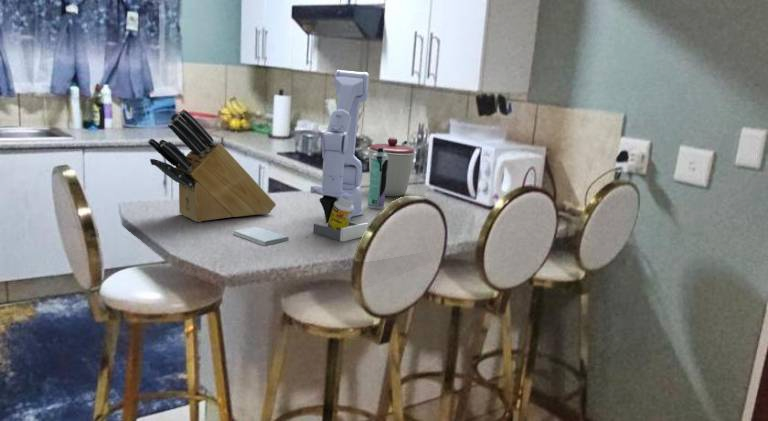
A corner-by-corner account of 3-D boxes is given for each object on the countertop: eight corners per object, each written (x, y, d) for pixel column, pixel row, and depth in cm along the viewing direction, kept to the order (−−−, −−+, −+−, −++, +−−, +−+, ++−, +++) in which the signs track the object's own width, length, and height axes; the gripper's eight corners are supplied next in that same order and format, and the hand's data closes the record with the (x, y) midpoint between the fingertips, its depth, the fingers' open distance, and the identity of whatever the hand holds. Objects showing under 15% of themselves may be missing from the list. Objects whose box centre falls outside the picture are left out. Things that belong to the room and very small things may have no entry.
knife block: (145, 217, 174) (145, 105, 167) (256, 206, 197) (260, 107, 190) (162, 227, 166) (162, 110, 159) (276, 214, 189) (280, 111, 182)
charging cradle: (338, 226, 182) (339, 214, 181) (367, 235, 176) (368, 222, 175) (313, 232, 174) (313, 219, 173) (342, 241, 167) (343, 228, 166)
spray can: (386, 208, 210) (391, 149, 205) (371, 208, 207) (375, 148, 203) (380, 204, 214) (385, 146, 210) (365, 204, 212) (370, 146, 208)
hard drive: (288, 236, 164) (257, 225, 172) (265, 241, 158) (233, 230, 165) (288, 242, 165) (257, 231, 172) (264, 247, 158) (233, 236, 166)
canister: (386, 200, 221) (391, 141, 216) (353, 190, 234) (358, 134, 229) (422, 196, 233) (427, 140, 229) (389, 187, 246) (394, 133, 241)
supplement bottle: (322, 227, 174) (332, 195, 170) (334, 223, 179) (344, 191, 175) (338, 236, 172) (348, 204, 168) (349, 232, 177) (360, 200, 173)
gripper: (303, 172, 175) (301, 219, 178) (342, 181, 166) (339, 230, 169) (321, 170, 180) (318, 215, 183) (359, 179, 172) (356, 226, 175)
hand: (329, 222), depth 177 cm, fingers closed
